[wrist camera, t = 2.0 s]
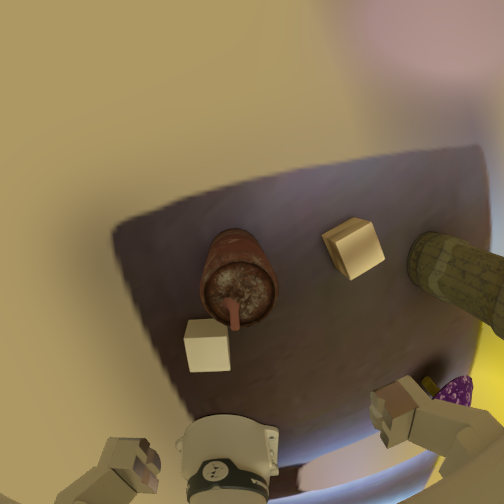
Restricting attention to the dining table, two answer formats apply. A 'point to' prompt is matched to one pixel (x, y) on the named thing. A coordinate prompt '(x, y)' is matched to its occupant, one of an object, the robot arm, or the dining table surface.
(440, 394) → the decorative mushroom
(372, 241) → the maple block
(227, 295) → the can
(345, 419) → the dining table surface
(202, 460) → the robot arm
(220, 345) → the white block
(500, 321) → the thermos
